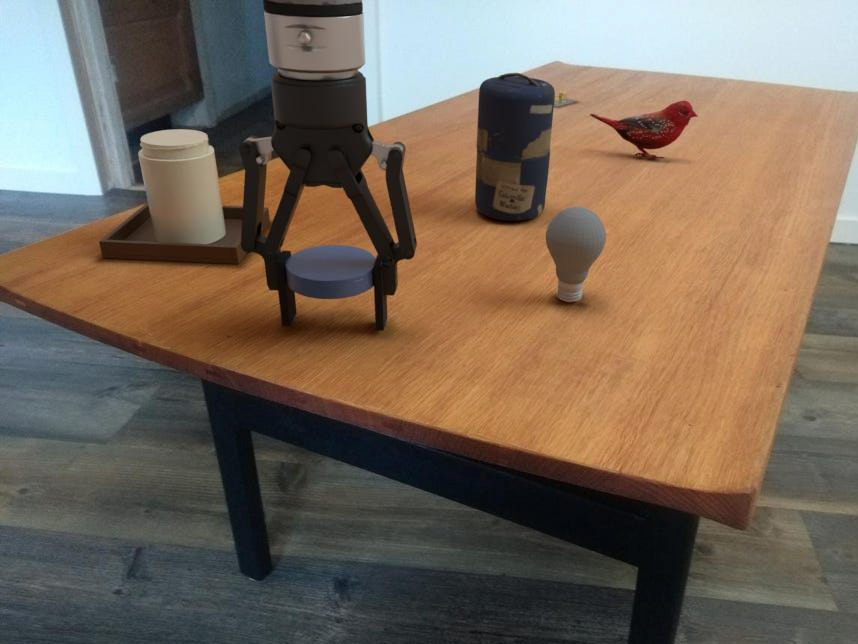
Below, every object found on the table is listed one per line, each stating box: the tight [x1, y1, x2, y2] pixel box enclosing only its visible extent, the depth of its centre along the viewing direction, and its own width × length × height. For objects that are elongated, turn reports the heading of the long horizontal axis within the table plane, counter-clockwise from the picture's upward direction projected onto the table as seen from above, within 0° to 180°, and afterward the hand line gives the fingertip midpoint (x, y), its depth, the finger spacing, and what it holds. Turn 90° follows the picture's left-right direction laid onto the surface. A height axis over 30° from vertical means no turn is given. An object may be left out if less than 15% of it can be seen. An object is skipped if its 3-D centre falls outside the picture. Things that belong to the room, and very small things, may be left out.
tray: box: [98, 201, 271, 265], centre depth 88 cm, size 15×13×2 cm
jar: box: [137, 128, 226, 244], centre depth 86 cm, size 8×8×12 cm
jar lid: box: [285, 244, 376, 300], centre depth 69 cm, size 8×8×2 cm
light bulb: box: [545, 206, 607, 303], centre depth 76 cm, size 6×6×10 cm
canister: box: [474, 72, 556, 222], centre depth 96 cm, size 10×10×18 cm
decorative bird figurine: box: [589, 100, 698, 160], centre depth 125 cm, size 3×18×10 cm, turn 70°
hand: (335, 321), depth 71 cm, fingers closed on jar lid, 8 cm apart
